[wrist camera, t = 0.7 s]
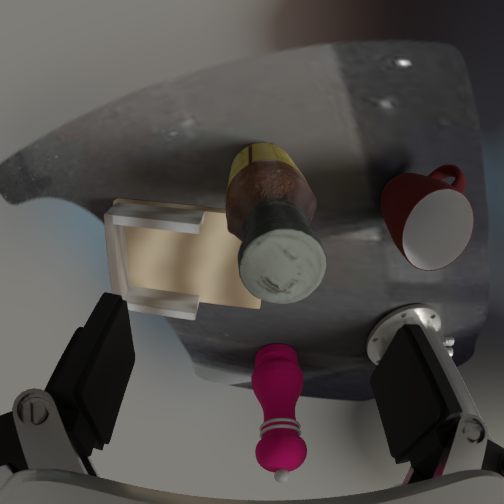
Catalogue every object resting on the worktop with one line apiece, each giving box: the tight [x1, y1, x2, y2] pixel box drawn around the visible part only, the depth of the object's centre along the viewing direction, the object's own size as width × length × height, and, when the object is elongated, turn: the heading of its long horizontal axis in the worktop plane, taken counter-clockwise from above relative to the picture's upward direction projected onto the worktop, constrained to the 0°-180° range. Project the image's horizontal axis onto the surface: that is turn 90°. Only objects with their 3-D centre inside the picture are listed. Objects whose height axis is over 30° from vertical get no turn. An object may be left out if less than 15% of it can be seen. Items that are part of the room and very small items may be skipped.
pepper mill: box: [252, 344, 307, 483], centre depth 36 cm, size 7×7×20 cm
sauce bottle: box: [225, 143, 327, 304], centre depth 23 cm, size 7×6×20 cm
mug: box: [381, 165, 474, 271], centre depth 27 cm, size 10×8×10 cm
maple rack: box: [104, 198, 261, 320], centre depth 34 cm, size 18×12×5 cm, turn 82°
